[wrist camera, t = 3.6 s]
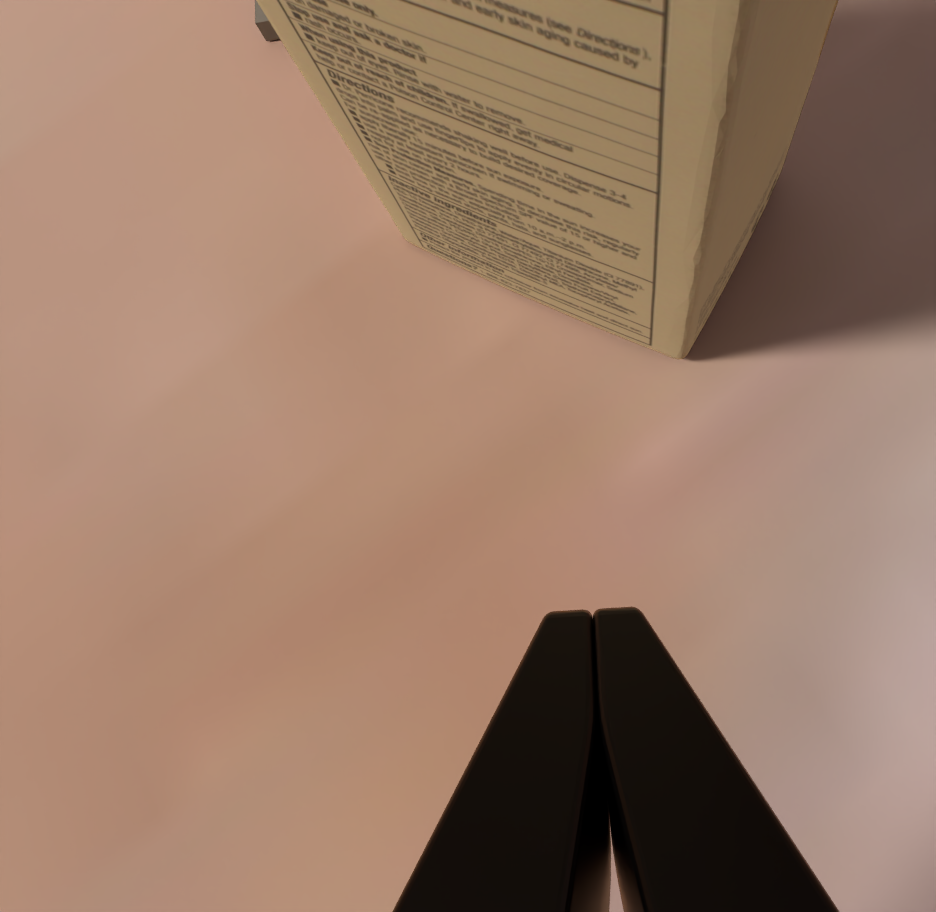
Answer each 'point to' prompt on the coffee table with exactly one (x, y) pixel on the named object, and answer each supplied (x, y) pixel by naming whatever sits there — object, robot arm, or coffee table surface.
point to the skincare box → (570, 137)
